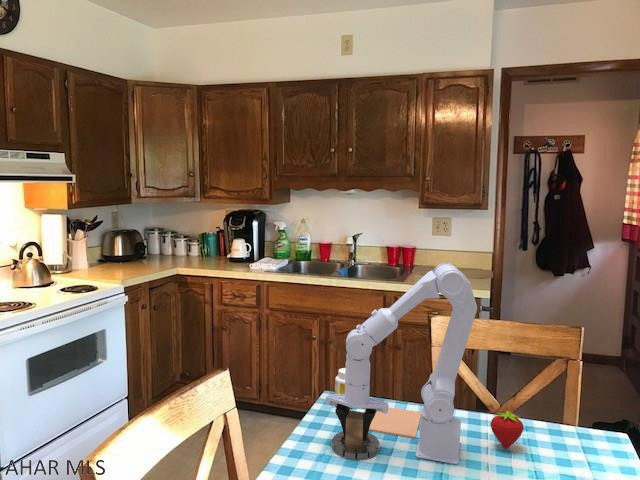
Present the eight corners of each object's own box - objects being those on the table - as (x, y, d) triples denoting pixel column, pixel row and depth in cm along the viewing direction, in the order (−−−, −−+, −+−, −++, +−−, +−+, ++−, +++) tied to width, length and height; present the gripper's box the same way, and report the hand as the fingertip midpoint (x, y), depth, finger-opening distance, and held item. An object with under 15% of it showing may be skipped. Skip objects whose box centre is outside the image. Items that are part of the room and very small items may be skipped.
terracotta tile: (421, 414, 139) (421, 412, 139) (415, 438, 126) (415, 436, 125) (370, 406, 143) (370, 404, 143) (359, 429, 130) (359, 427, 130)
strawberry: (486, 440, 126) (488, 401, 124) (518, 442, 125) (520, 403, 124) (492, 452, 120) (494, 412, 119) (525, 455, 119) (528, 414, 118)
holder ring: (382, 440, 124) (382, 434, 124) (373, 463, 114) (374, 457, 114) (338, 432, 128) (339, 427, 127) (326, 455, 117) (326, 448, 117)
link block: (365, 444, 122) (366, 412, 121) (361, 453, 118) (362, 420, 117) (349, 441, 123) (350, 410, 122) (345, 450, 119) (346, 417, 119)
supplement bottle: (358, 406, 143) (359, 371, 141) (343, 411, 139) (344, 375, 138) (345, 399, 147) (346, 365, 146) (330, 404, 143) (331, 369, 142)
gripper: (391, 379, 121) (389, 434, 122) (332, 371, 125) (330, 424, 126) (386, 391, 114) (383, 448, 115) (323, 382, 118) (322, 437, 120)
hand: (355, 436), depth 120 cm, fingers closed on link block, 4 cm apart
